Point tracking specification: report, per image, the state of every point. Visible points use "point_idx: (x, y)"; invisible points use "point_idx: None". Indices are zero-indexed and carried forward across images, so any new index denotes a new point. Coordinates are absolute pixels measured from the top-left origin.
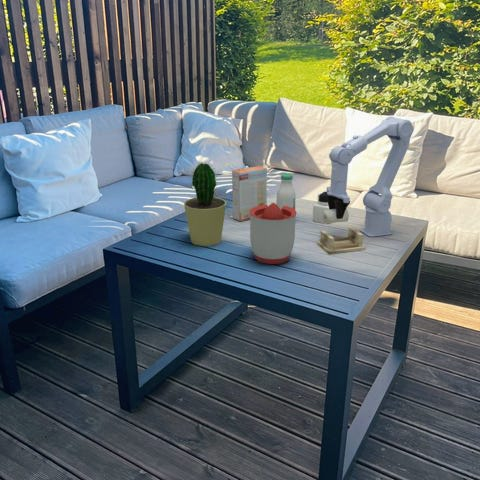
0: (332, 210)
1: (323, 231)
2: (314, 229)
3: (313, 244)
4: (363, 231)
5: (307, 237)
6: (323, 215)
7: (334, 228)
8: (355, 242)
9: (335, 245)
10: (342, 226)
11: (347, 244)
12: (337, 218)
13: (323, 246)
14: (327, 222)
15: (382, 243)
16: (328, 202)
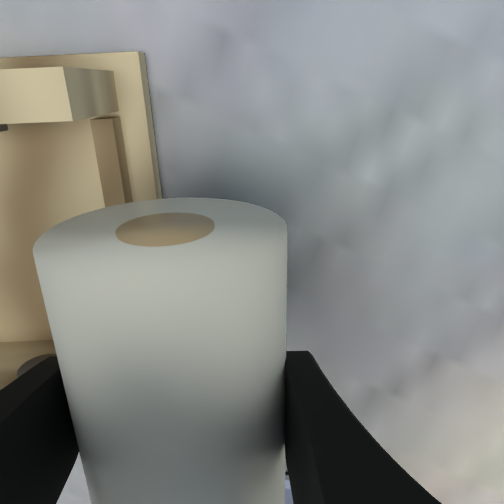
0: (112, 393)
1: (38, 96)
2: (496, 186)
3: (146, 13)
4: (285, 483)
5: (336, 29)
6: (258, 223)
7: (441, 346)
8: (26, 350)
9: (22, 184)
10: (452, 410)
11: (37, 287)
12: (46, 360)
13: (3, 60)
14: (111, 208)
15: (87, 494)
16: (363, 490)
